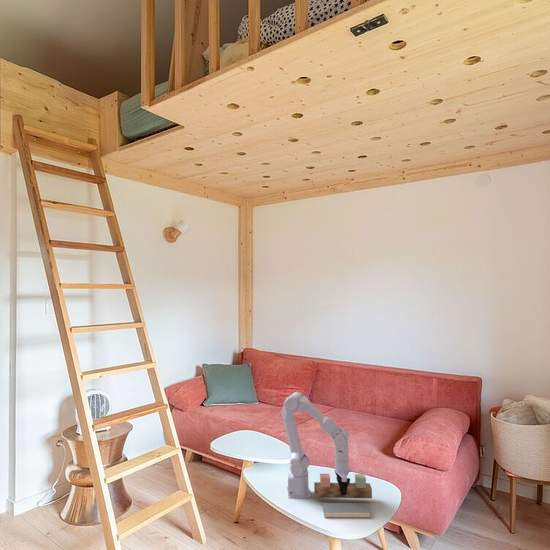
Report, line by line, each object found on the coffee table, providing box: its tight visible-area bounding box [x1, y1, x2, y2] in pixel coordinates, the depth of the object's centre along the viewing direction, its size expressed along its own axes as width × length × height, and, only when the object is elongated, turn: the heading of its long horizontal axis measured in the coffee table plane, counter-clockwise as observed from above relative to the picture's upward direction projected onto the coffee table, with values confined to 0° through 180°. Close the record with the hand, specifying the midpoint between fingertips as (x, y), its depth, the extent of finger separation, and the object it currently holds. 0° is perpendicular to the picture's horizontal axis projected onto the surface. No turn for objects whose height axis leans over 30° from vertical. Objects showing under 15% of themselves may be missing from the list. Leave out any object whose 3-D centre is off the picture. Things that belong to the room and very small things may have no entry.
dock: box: [322, 502, 371, 518], centre depth 163 cm, size 18×7×2 cm, turn 88°
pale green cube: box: [354, 473, 367, 488], centre depth 172 cm, size 4×4×4 cm
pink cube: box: [319, 473, 331, 488], centre depth 173 cm, size 4×4×4 cm
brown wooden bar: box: [313, 481, 373, 499], centre depth 172 cm, size 24×5×4 cm, turn 86°
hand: (342, 491), depth 172 cm, fingers closed on brown wooden bar, 5 cm apart
